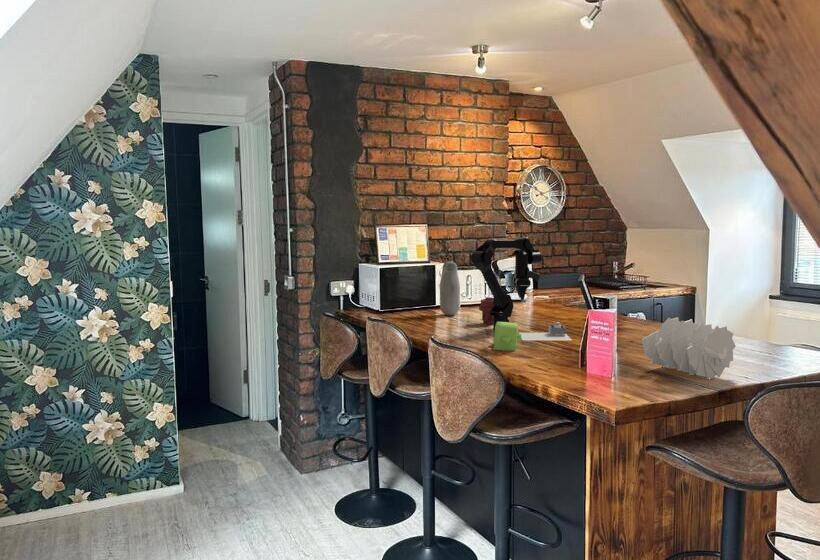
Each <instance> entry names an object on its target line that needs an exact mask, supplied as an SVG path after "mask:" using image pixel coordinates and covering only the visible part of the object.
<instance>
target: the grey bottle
mask: <svg viewBox="0 0 820 560" xmlns="http://www.w3.org/2000/svg"><path fill="white" fill-rule="evenodd" d="M440 277H441V278H440V281H439V307H440V308H439V309H440V310H441V313H442V314H443V315H445V316H449V317H451V316H454V315H457V314H458V312H459V310H460V306H461V305H460V303H461V299H460V297H461V283H460V278H459V272H458V265H457V264H456V262H454V261H450V260H448V261H445V262H444V263H443V265H442V271H441V275H440Z"/></svg>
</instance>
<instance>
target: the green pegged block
mask: <svg viewBox="0 0 820 560" xmlns="http://www.w3.org/2000/svg"><path fill="white" fill-rule="evenodd" d="M518 327H519V324H518V323H517V322H516V323H515V322H510V321H509V322H497V323H496V325H495V330H494V337H493V338H494V342H493V351H494V350H495V351H504V352H505V351H509V352H511V351H513V352H516V351H517V346H518V345H517V344H518V341H521V340H522V338H521V334H519V331H518Z"/></svg>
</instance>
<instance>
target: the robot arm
mask: <svg viewBox="0 0 820 560" xmlns="http://www.w3.org/2000/svg"><path fill="white" fill-rule="evenodd" d="M496 249H512V250H514V251H513V252H512V253H511V255H512V256H514V257H515V258H514V259H515V260H514V262H515V263H514V264H515V265H514V269H515V270H514V271H515V272H514V273H515V274H514V276H513V277H512V282H513V285H514V287H515V290H516V292H517V295H518V297H519V298H520V301H524V300H525V296H526V292H527V289H528V288H530V287H531V285H532V283H531V282H532V281H531V279H532V280H534V281H537V282H539V281H540V278H541V277H542V276H541V273H538V270H536V269H533V270H530V268H529V265H538V264H541V262H542V261H543V256H542V254H541V252H540V249H538V248H534V246H533V245H532V242H531V239H530V238H529V237H517V236H516V237H514V238H509V239H492V238H491V239H490V238H489V239H486V240H485V241H484V242H483V243H482V244H481V245H480V246H478V247H477V248H476V249H475V250H474V251H473V252H472V253H471V256H470V261H471V263H472V264H473V266H474V267H475V268H476V269H477V270H479V271H480V272H481V274H482V276H483V277H482V278H484V280H485V281H484V282H485V283H486V285H487V286H488V289H489V291H490V293H491V294H492V298H493V304H494V306H493V307H492V309H491V310H490V315H491V316H493V324H492V325H493V327H492V330H493V331H495V325H496V323H497V322H509V323H510V319H509V318H511V317H512V314H513V309H514V300H513V299H512V296H511V294H506V293H504V291H503V289H502V286H501V285H500V283H499V280H498V279H497V275H496V274H495V272H494V270H493V268H492V267H493V266H492V263H493V261H492V258H493V257H494V255H495V250H496Z"/></svg>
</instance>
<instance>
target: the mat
mask: <svg viewBox="0 0 820 560" xmlns="http://www.w3.org/2000/svg"><path fill="white" fill-rule="evenodd" d="M518 334H521V340H522V341H554V342H555V341H556V342H557V341H560V342H561V341H570V342H571V341H573V340H572V338H570V336H569V335H568V334H567V333H566V334H565V335H564V336H553V335H550V333H549V332H518Z"/></svg>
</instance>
